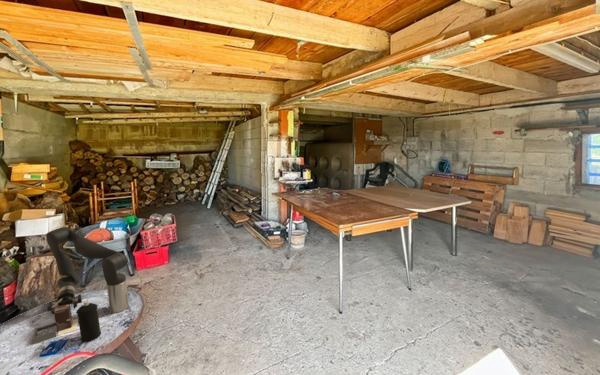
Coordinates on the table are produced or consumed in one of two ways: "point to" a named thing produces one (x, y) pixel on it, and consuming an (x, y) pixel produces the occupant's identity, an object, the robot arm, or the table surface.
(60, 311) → the box
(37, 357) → the table surface
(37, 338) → the open rectangular frame
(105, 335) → the table surface
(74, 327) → the pad
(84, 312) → the aerosol can
